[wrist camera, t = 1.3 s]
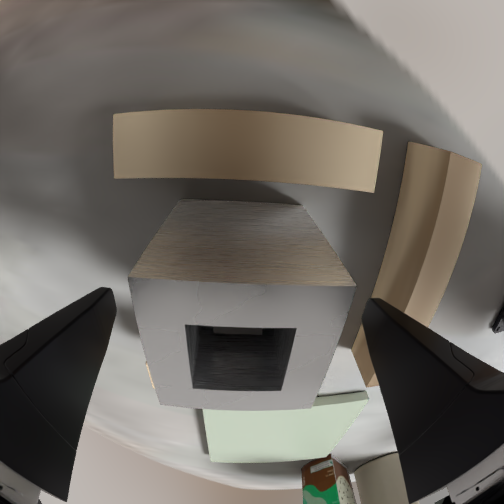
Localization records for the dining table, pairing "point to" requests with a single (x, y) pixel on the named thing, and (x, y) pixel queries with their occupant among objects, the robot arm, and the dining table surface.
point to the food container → (326, 482)
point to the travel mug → (382, 481)
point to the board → (281, 430)
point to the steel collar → (239, 305)
